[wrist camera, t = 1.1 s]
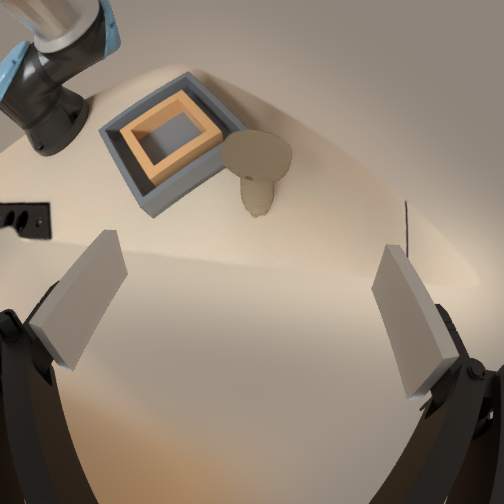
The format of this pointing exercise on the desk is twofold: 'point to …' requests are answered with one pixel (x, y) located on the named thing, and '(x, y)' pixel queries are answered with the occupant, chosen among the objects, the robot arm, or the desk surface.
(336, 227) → the desk surface
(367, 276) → the desk surface
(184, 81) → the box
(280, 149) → the handle
